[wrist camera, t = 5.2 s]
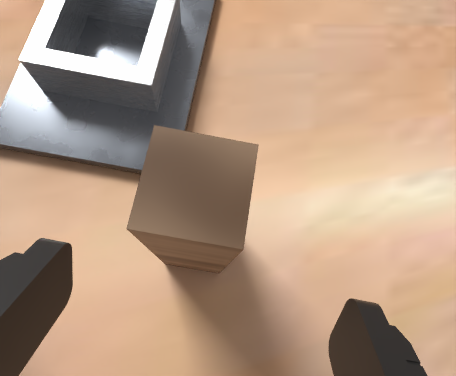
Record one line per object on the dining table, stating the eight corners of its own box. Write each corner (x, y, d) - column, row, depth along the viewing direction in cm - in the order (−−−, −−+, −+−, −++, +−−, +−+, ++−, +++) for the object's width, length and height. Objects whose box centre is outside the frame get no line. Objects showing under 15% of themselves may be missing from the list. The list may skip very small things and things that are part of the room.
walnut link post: (219, 273, 27) (243, 249, 12) (164, 263, 26) (126, 228, 12) (227, 220, 28) (258, 144, 14) (176, 211, 28) (154, 125, 14)
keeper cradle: (174, 179, 29) (169, 157, 24) (-8, 146, 28) (-49, 116, 24) (217, -6, 36) (219, -51, 31) (72, -35, 35) (52, -86, 31)
